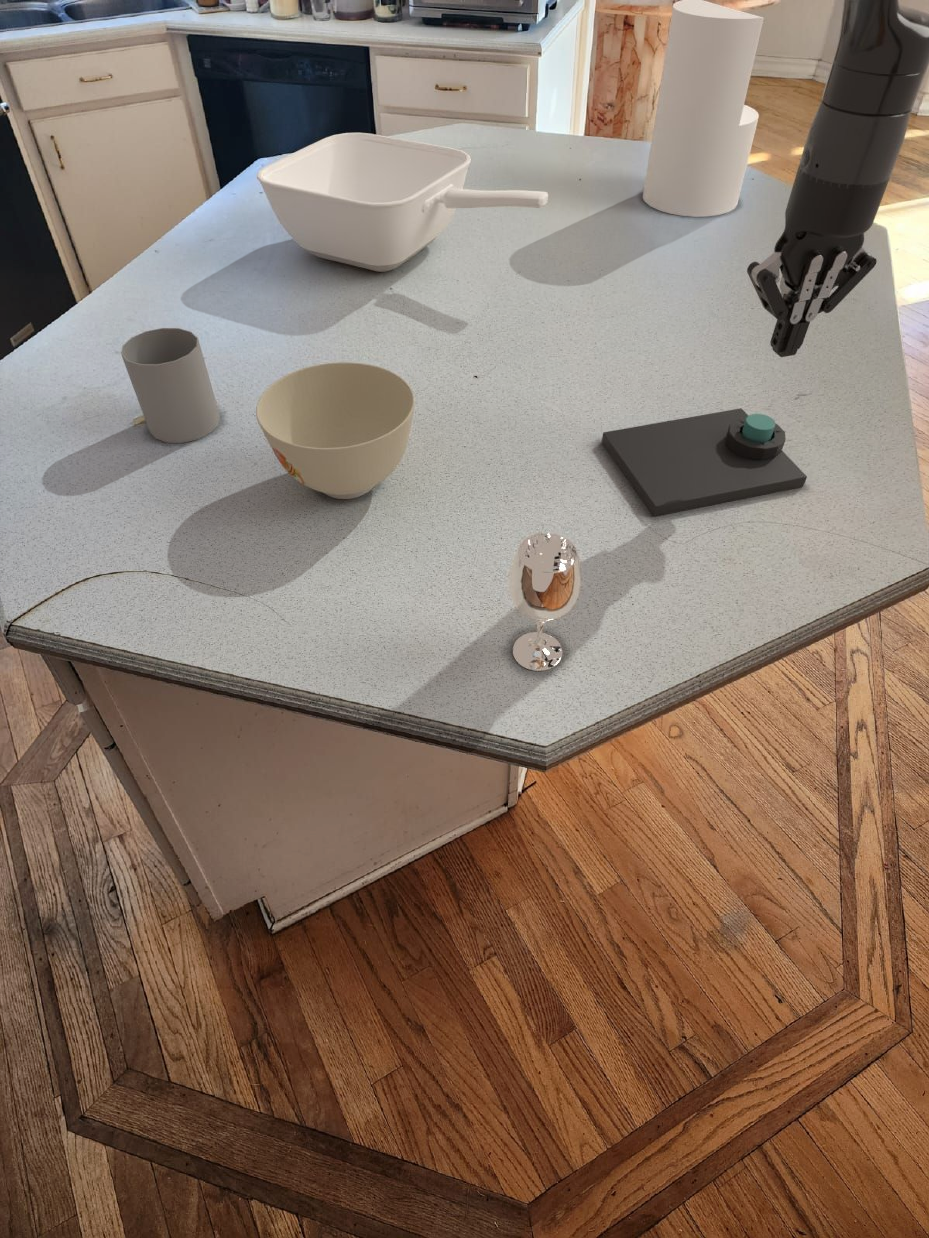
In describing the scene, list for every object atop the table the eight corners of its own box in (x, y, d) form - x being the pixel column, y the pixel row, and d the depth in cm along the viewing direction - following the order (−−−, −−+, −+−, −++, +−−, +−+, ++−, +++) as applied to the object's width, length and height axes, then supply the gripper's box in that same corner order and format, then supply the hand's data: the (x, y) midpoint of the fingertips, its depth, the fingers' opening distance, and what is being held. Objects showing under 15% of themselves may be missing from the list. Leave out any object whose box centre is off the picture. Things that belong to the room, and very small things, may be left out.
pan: (352, 209, 138) (343, 124, 128) (573, 257, 124) (583, 166, 114) (258, 265, 122) (239, 173, 112) (499, 327, 108) (503, 228, 98)
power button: (761, 424, 87) (765, 411, 85) (776, 440, 84) (781, 427, 83) (736, 429, 86) (740, 416, 85) (751, 445, 84) (755, 431, 83)
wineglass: (501, 672, 66) (506, 574, 57) (509, 623, 70) (515, 524, 61) (567, 680, 65) (582, 582, 56) (572, 631, 69) (587, 532, 60)
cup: (231, 427, 91) (210, 349, 84) (166, 451, 88) (138, 373, 81) (202, 396, 96) (179, 320, 88) (139, 419, 93) (110, 342, 85)
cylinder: (678, 223, 133) (717, 23, 112) (624, 191, 143) (651, 2, 123) (757, 207, 138) (808, 12, 117) (699, 177, 148) (737, -6, 127)
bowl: (267, 452, 88) (248, 374, 80) (401, 430, 91) (395, 352, 83) (284, 541, 77) (264, 461, 70) (435, 513, 80) (431, 433, 73)
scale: (742, 417, 92) (749, 395, 90) (807, 486, 83) (816, 463, 81) (601, 442, 89) (604, 420, 87) (653, 516, 80) (658, 494, 78)
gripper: (802, 188, 61) (744, 381, 74) (940, 172, 64) (861, 361, 77) (754, 158, 66) (707, 344, 79) (884, 144, 69) (818, 327, 81)
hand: (783, 352), depth 78 cm, fingers closed
